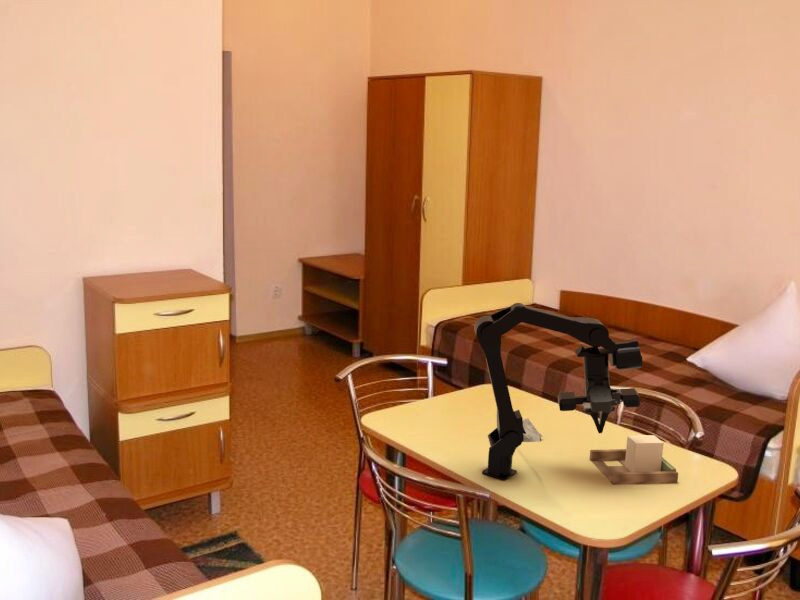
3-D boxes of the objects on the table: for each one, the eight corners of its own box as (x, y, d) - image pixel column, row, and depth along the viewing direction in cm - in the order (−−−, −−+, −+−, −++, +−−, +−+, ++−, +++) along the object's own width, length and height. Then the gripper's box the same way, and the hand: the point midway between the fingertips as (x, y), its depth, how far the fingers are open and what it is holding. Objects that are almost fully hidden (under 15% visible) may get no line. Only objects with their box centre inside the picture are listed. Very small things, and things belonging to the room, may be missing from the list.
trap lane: (612, 490, 184) (614, 472, 183) (589, 464, 199) (590, 448, 198) (676, 488, 186) (678, 471, 185) (648, 463, 201) (650, 446, 200)
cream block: (633, 474, 190) (636, 443, 188) (624, 466, 195) (627, 435, 193) (660, 473, 191) (663, 442, 189) (650, 465, 196) (654, 435, 194)
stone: (545, 433, 221) (545, 419, 220) (539, 447, 209) (540, 432, 209) (522, 430, 223) (523, 416, 222) (515, 444, 211) (516, 429, 211)
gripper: (559, 385, 180) (563, 448, 183) (642, 380, 177) (645, 444, 180) (555, 370, 190) (560, 429, 194) (634, 365, 188) (637, 425, 191)
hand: (600, 432), depth 189 cm, fingers closed
